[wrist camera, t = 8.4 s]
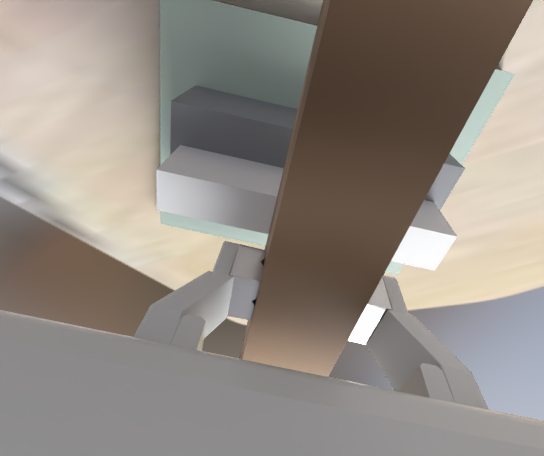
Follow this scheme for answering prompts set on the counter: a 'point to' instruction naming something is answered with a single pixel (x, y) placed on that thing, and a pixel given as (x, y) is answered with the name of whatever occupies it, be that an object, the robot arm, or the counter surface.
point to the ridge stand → (260, 126)
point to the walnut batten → (366, 160)
